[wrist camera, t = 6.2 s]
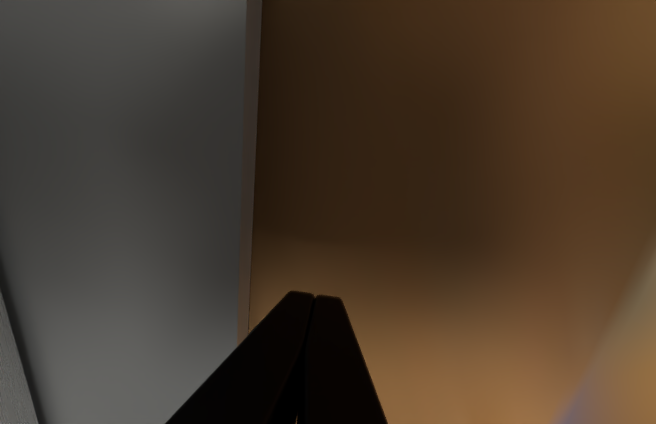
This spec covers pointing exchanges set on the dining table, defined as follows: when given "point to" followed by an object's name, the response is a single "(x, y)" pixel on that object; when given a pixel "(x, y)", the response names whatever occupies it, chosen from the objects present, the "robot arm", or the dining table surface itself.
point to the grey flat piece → (126, 198)
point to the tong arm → (12, 378)
